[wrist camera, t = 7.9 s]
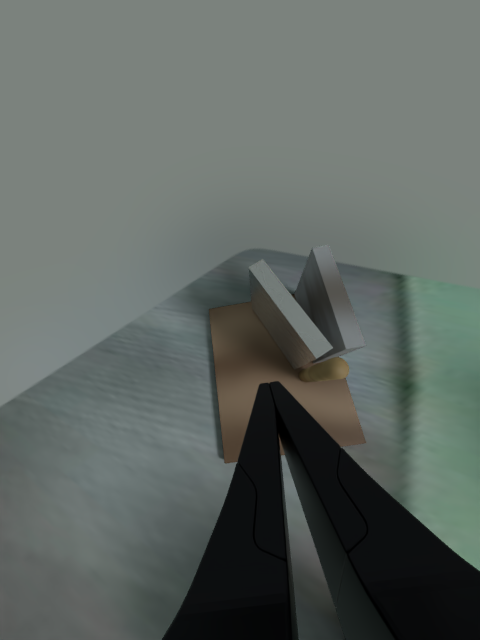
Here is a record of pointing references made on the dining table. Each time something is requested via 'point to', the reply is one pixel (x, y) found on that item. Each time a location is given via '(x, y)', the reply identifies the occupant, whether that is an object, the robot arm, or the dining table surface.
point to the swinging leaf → (285, 318)
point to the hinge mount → (271, 364)
